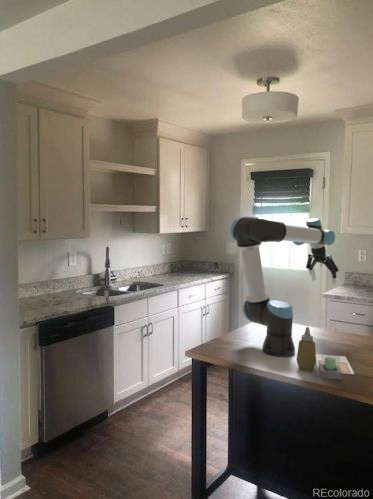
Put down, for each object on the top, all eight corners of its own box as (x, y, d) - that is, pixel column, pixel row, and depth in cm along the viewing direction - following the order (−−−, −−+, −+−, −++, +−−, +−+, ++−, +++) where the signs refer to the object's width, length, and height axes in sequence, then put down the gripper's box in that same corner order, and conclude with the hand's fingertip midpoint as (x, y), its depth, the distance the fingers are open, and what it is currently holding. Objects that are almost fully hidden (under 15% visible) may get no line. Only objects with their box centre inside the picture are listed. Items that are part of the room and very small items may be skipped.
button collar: (320, 377, 169) (320, 370, 169) (318, 370, 177) (318, 363, 177) (341, 379, 168) (341, 372, 168) (338, 372, 176) (338, 365, 175)
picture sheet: (318, 371, 176) (318, 370, 176) (313, 355, 197) (313, 353, 197) (354, 374, 174) (354, 373, 173) (345, 357, 194) (345, 356, 194)
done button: (325, 372, 171) (325, 360, 170) (323, 369, 175) (324, 357, 174) (336, 373, 170) (336, 361, 170) (334, 369, 174) (335, 358, 174)
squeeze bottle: (312, 365, 183) (314, 325, 181) (318, 372, 175) (320, 330, 173) (293, 365, 183) (295, 324, 181) (299, 372, 175) (301, 330, 173)
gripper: (341, 245, 223) (347, 282, 229) (304, 242, 244) (310, 276, 249) (332, 250, 219) (339, 287, 225) (295, 246, 240) (302, 281, 245)
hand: (324, 281), depth 237 cm, fingers open, 13 cm apart
